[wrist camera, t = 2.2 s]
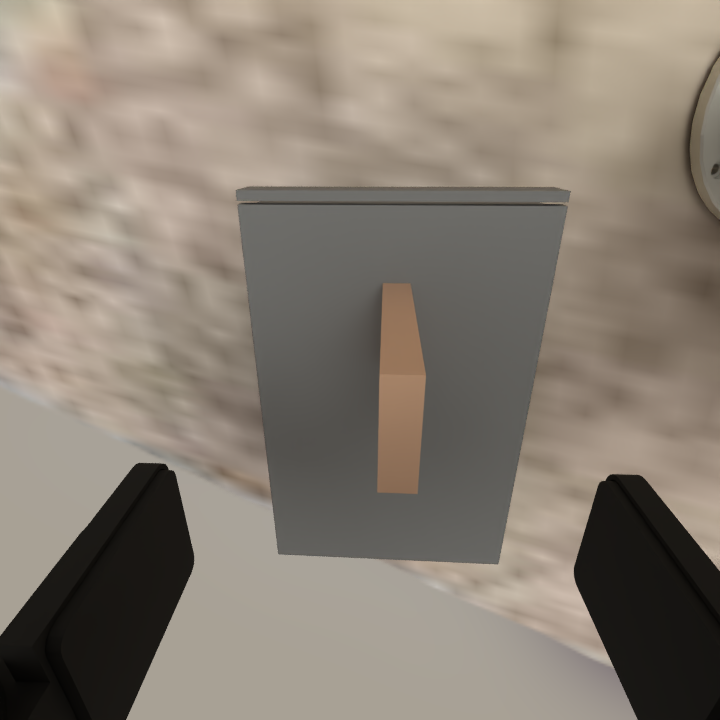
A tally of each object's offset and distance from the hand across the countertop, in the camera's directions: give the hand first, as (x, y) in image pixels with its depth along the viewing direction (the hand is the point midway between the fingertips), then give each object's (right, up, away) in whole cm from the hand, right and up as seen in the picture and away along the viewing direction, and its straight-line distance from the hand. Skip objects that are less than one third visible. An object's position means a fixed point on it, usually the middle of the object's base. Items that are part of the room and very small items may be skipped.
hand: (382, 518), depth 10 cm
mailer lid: (+1, +2, +14) cm, 14 cm away
